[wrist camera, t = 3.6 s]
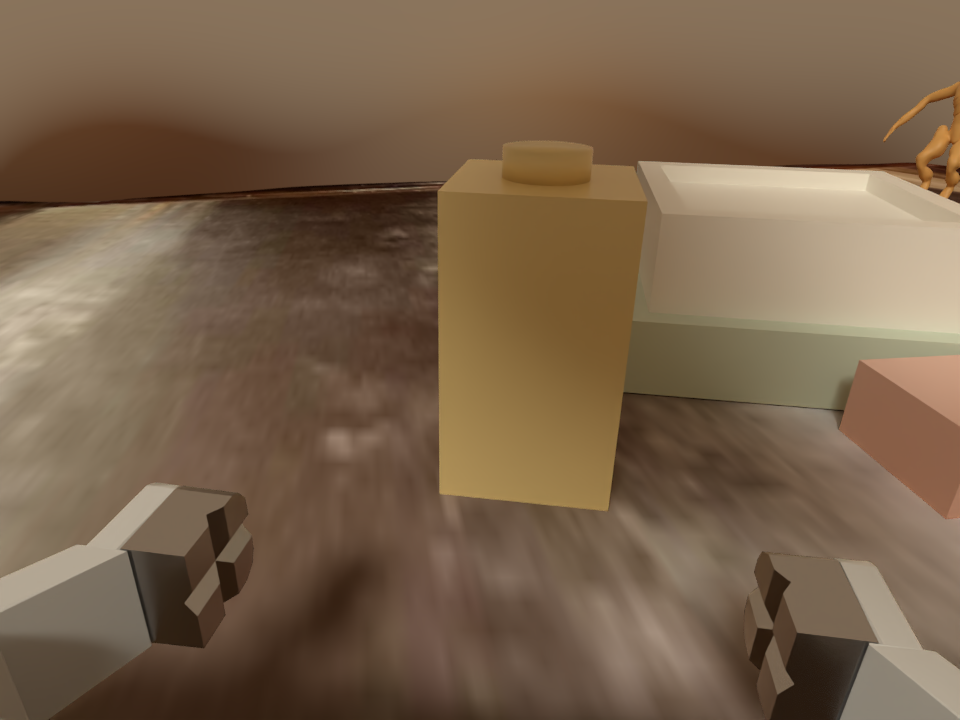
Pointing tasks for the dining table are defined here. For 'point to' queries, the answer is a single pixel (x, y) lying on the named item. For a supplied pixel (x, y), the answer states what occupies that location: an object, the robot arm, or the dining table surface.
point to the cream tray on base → (787, 281)
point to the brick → (911, 423)
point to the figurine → (938, 140)
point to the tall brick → (535, 322)
